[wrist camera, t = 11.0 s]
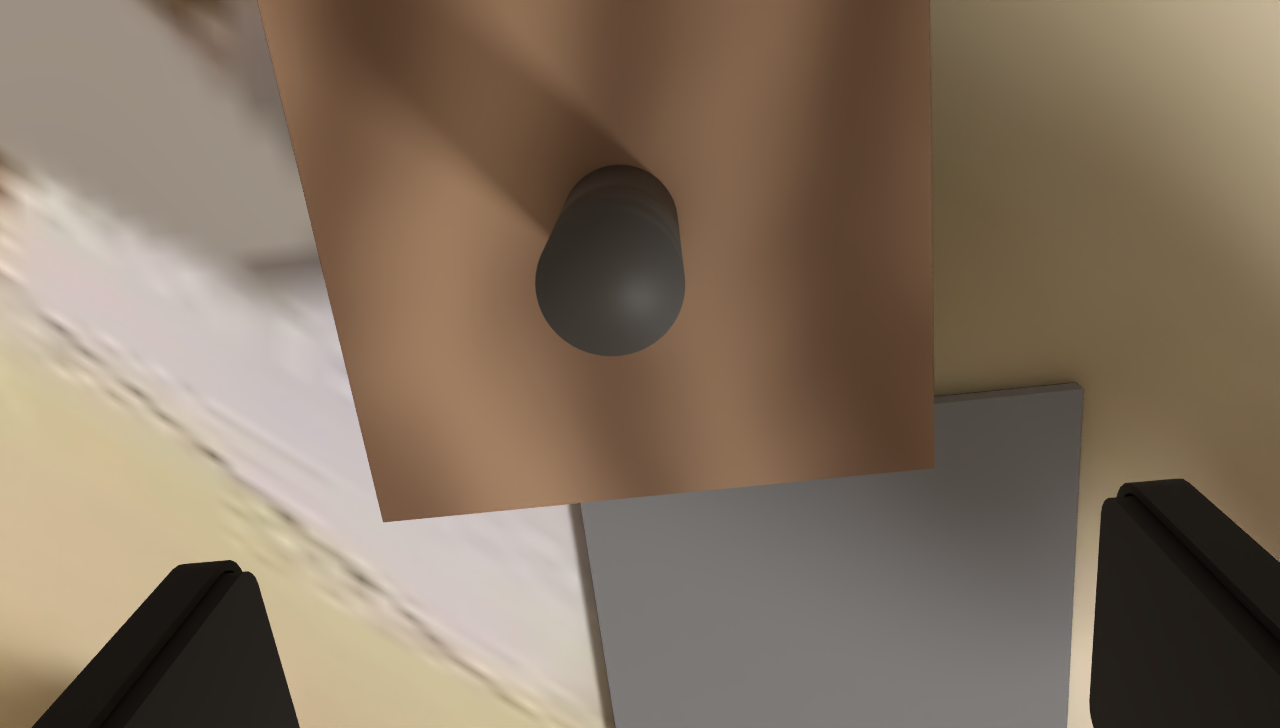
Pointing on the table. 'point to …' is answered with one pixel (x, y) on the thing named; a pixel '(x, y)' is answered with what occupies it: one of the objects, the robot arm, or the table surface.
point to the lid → (619, 240)
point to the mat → (856, 586)
